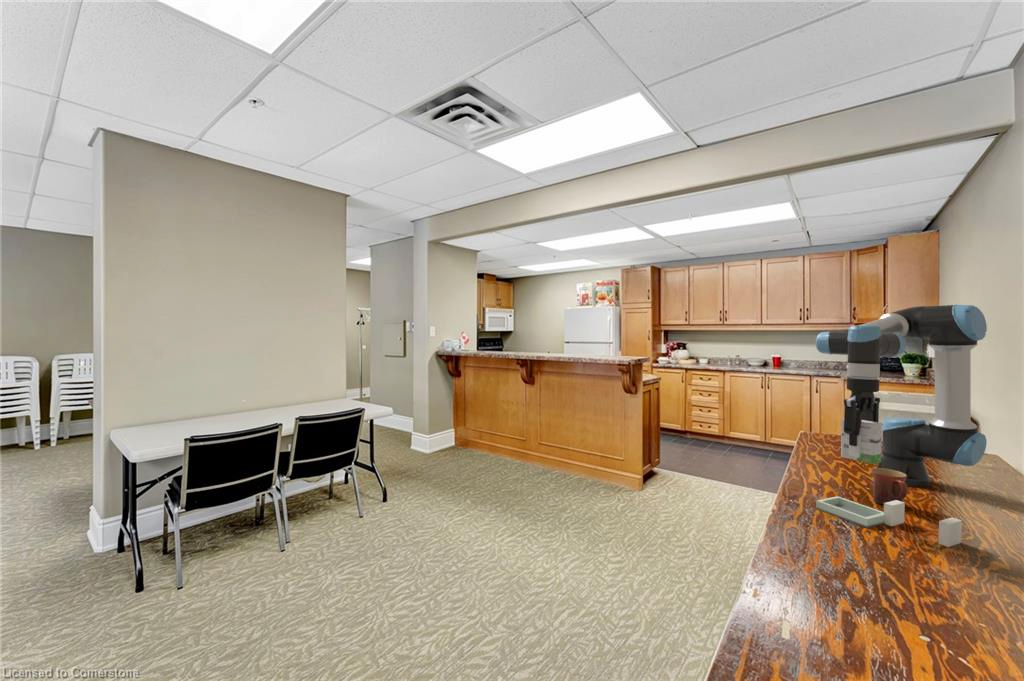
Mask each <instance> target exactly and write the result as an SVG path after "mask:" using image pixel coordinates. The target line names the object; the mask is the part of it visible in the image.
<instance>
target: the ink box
mask: <svg viewBox="0 0 1024 681" xmlns="http://www.w3.org/2000/svg"><path fill="white" fill-rule="evenodd" d="M840 423H841V424H840V425H841V427H840V428H841V430H840V431H841V434H840V436H841V439H840V446H841V447H840V458H844V459H849V460H854V461H858V462H862V463H867V464H869V465H870V464H871V465H878V464H879V463H880V462H881V458H882V441H883V431H882V429H883V424H882V422H879V423H878V422H872V421H865V420H862V421H861V427H860V432H859V435H861V456H860V458H857V457H853V456H849V434H847V433H845V432H844V418H842V419H841V422H840Z"/></svg>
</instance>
